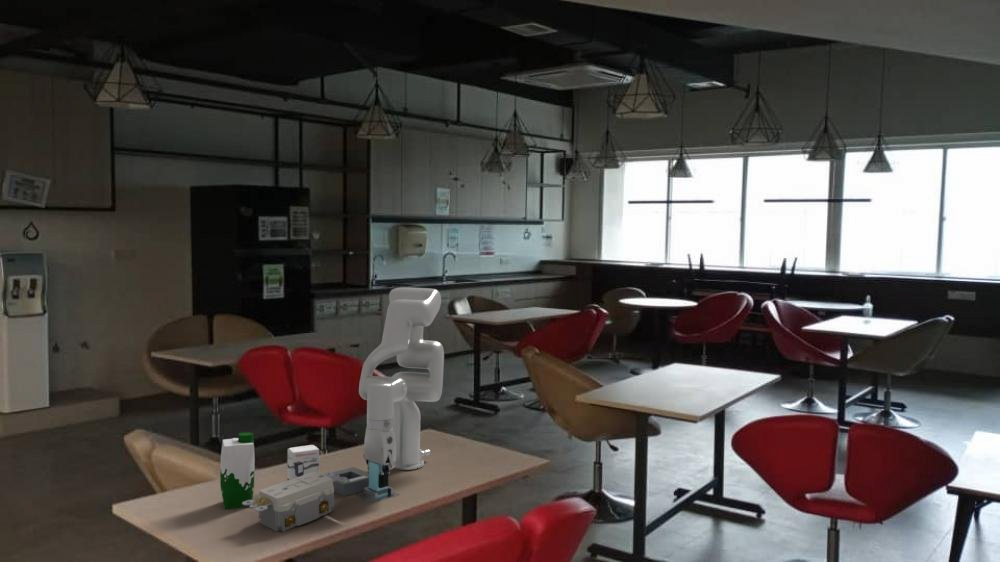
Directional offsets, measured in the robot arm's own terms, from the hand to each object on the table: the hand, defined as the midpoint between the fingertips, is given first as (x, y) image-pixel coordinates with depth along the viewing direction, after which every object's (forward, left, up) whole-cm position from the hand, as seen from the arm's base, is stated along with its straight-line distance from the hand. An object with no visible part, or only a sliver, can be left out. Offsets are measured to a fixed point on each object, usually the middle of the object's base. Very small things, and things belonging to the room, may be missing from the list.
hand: (378, 484), depth 224 cm
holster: (0, 0, -4) cm, 4 cm away
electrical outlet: (+27, -1, -4) cm, 27 cm away
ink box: (+11, -23, -4) cm, 26 cm away
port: (+2, -12, -4) cm, 13 cm away
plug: (0, 0, -3) cm, 3 cm away
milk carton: (+33, -22, -4) cm, 40 cm away
